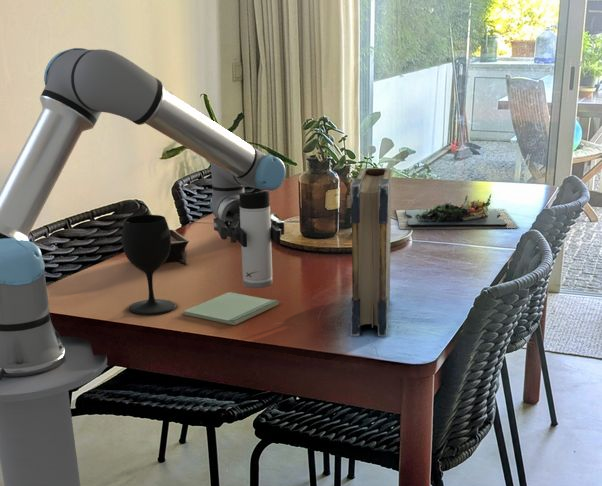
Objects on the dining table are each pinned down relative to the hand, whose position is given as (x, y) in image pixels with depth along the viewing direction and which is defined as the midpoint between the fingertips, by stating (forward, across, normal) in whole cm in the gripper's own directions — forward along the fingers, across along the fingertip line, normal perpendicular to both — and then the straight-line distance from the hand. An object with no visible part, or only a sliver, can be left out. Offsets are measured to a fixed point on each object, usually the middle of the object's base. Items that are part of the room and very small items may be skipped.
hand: (261, 238), depth 174 cm
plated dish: (-76, -79, -18) cm, 111 cm away
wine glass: (-18, +21, -18) cm, 33 cm away
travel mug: (-5, 0, -11) cm, 12 cm away
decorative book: (+4, -22, -18) cm, 29 cm away
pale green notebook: (-11, +5, -18) cm, 22 cm away
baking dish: (-56, +15, -18) cm, 61 cm away
